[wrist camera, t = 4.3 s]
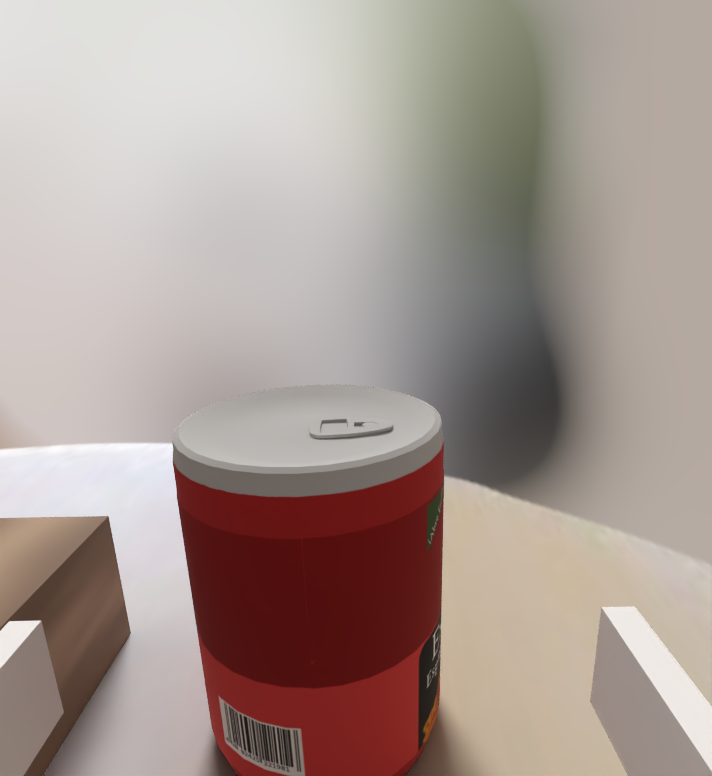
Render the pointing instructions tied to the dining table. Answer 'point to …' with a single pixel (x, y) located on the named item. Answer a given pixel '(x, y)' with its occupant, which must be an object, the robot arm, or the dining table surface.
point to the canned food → (316, 575)
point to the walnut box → (65, 605)
